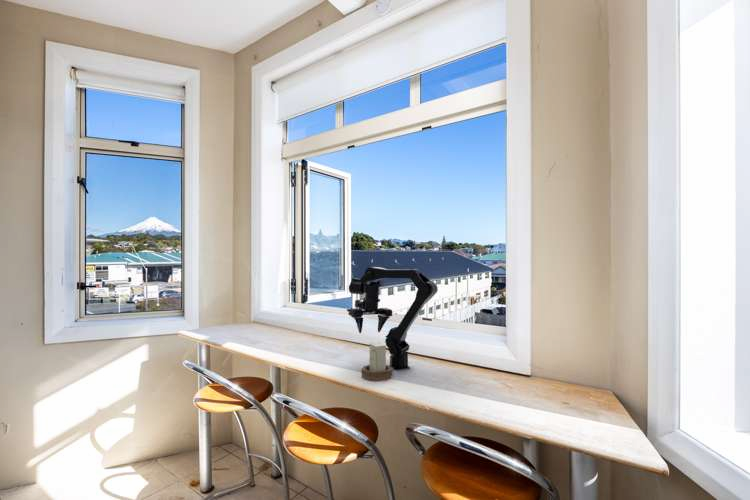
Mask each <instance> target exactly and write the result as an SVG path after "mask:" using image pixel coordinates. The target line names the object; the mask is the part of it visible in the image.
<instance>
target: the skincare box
mask: <svg viewBox="0 0 750 500" xmlns="http://www.w3.org/2000/svg"><path fill="white" fill-rule="evenodd" d="M386 353H387V346H386V344H384V343H382V342H380V341H378V342H370V343H369V365H370V366H369V371H372V372H381V371H386V365H387V364H386V363H387V362H386V361H387V357H386V355H387V354H386Z"/></svg>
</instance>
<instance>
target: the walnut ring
mask: <svg viewBox="0 0 750 500" xmlns="http://www.w3.org/2000/svg"><path fill="white" fill-rule="evenodd" d="M369 366H370V364H367V365H363V366H362V368H361V378H363V379H364V380H367V381H370V382H383V381H387V380H390V379H392V377H393V368H392V367H390V365H387V364H386V371H381V372H372V371H369Z"/></svg>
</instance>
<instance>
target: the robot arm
mask: <svg viewBox="0 0 750 500" xmlns="http://www.w3.org/2000/svg"><path fill="white" fill-rule="evenodd" d="M384 279H410V280H411V282H412V283H413V285H414V286H415V288H416V289H417V290H416V292H415V293H416V294H415V297H414V298H415V299H414V301H413V302H412V303H411V306H410V307H409V309H407V311H406V313H405V315H404V316H403V318H402V319H401V321H400V323H399V324H398V326H395V327H392V328H390V329H389V331H388V334H386V336H384V337H385V340H384V343H385V345H386V348H387V350H388V351H389V354H390V356H389V366H390V367H392V370H395V371H399V370H407V369H410V368H411V367H410V366H409V353H408V351H409V349H410V344H409V343H408V342H407V341H406V339H407V336H408V335H407V334H408V331H409V329H410V327H412V325H413V323H414V322H415V321H416V318H417V317H418V316H419V314H420V312H421V311H422V309H423V308H424V306H425V305H426V304H427V303H428V302H429V301H430V300H431V299H432V298H433V297H434V296H435V295H436V294H437V293H438V290H439V289H438V285H437V284H436V283H435V281H431V280H430V279H429V278H428V277H427V276H425V274H423V273H422V272H421V271H420V270H419V269H418V268H411V269H406V268H405V269H403V268H402V269H401V268H400V269H399V268H398V269H397V268H396V269H390V268H389V269H388V268H385V267H380V266H368V267H367V268H366V269H365V271H364V273H363V275H362V276H361V278H356V277H353V278H352V279H351V281H350V282H349V286H348V291H349V293H350V294H353V295H354V294H355V295H362V296H363V295H365V296H364V297H363V300H362V301H361V299H355V300H354V308H349V310H348V315H349V316H350V317H351V318H353V319H354V321H355V323H356V327H357V330H358V333H359V334H361V333H362V330H363V324H364V323H363V322H364V318H363V316H364V315H366V316H370V315H377V318H378V319H377V320H378V323H377V333H381V330H382V329H383V327H384V325H385V323H386V322H387V321H388V319H390V317H393V314H394V313H393V310H392V309H391V308H387V307H379V303H380V302H381V299H380V298H379V297H380V295H379V294H380V287H384V286H385V284H384V283H383V282H382V280H384ZM368 282H369V283H368Z"/></svg>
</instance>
